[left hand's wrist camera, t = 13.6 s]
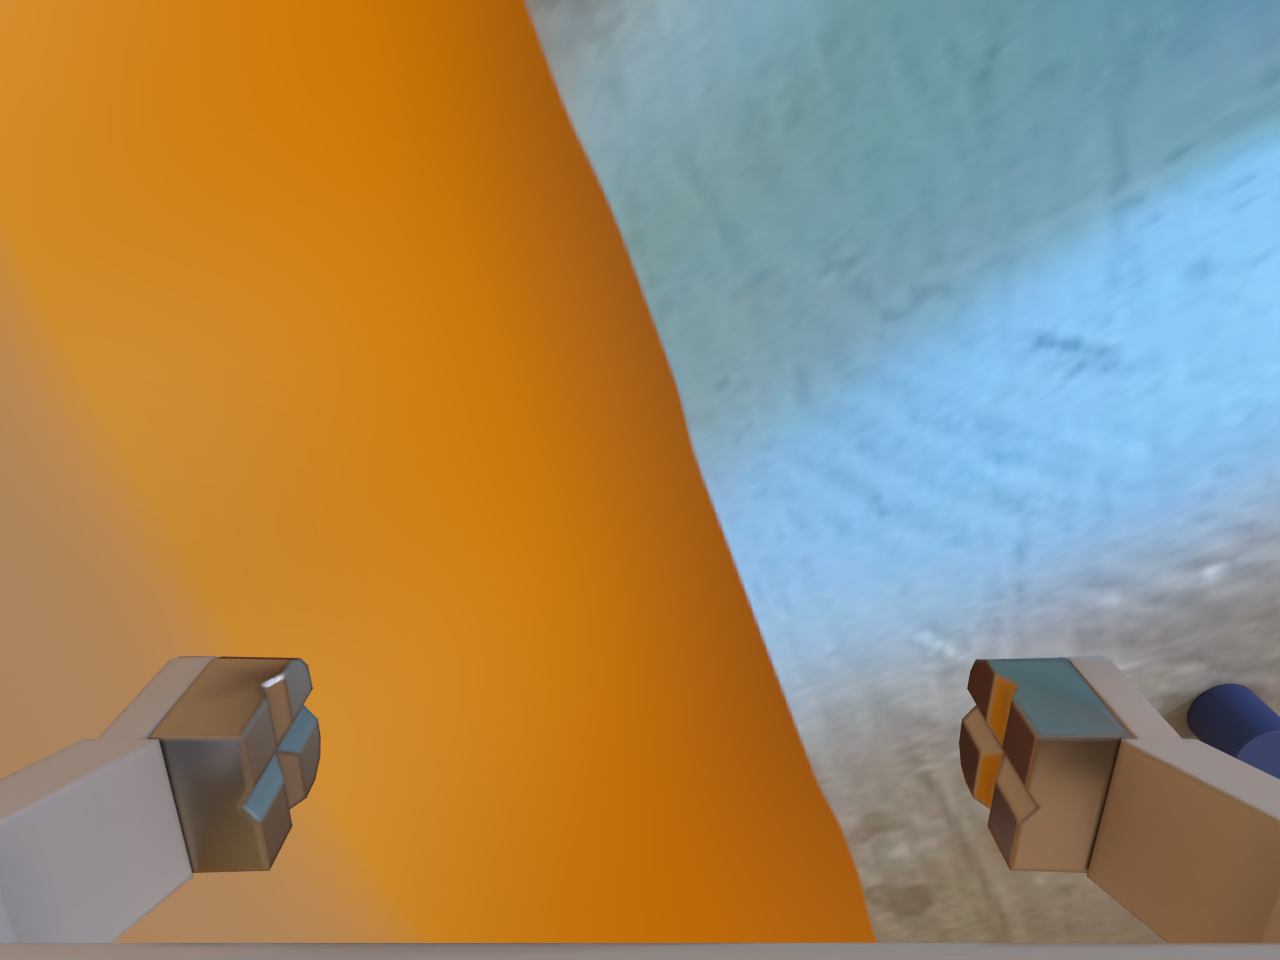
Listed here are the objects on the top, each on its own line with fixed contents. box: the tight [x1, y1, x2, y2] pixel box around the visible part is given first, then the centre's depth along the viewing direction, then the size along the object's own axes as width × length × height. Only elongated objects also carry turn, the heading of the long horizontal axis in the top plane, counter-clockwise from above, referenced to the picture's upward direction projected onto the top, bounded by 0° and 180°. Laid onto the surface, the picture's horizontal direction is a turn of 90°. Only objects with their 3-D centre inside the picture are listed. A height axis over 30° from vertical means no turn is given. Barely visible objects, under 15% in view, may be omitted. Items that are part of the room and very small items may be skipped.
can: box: [1188, 685, 1280, 779], centre depth 54 cm, size 4×4×5 cm
